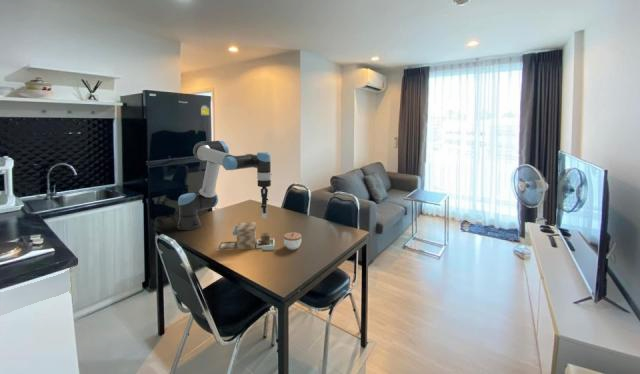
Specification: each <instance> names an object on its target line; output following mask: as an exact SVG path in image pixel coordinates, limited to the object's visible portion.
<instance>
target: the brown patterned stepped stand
mask: <svg viewBox="0 0 640 374" xmlns="http://www.w3.org/2000/svg"><path fill="white" fill-rule="evenodd" d="M256 223H257V222H256V221H252V222H251V221H250V222H238V223H237V225H236V226H237V229H236V231H237V235H236V241H235V240H234V241H233V240H232V241H231V240H230V241H219V242H218V244H217V246H216V249H215V251H230V250H231V251H232V250H250V249H252V250H253V249H254V250H255V249H256V244H257V233H256V232H257V230H256V229H257V228H256V227H257V226H256Z"/></svg>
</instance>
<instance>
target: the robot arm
mask: <svg viewBox="0 0 640 374" xmlns="http://www.w3.org/2000/svg"><path fill="white" fill-rule="evenodd" d="M192 153H193V155H194V157H195V158H196V159H198V160H201V161H206V167H205V171H204V176H203V177H204V178H203V181H202V188H200V189H199V191H198V193H195V192H190V193H189V192H188V193H184V194H181V195H180V196H179V197H178V200H177V204H178V215H179V217H178V222H177V230H180V231H193V230H196V229H199V228H200V227H201V226H202V223H201V220H200V218H199V215H198V211H203V210H207V209H212V208H215V207H216V206H217V205H218V203H219V196H218V194H217V191H216V185H217V180H218V177H219V173H220V168H221V167H220V166H222V167H223V168H224V170H226V171H235V170H241V169H242V170H243V169H248V168H249V169H251V168H253V169H257V171H256V175H257V178H256V179H257V186H258V187H260V194H261V195H260V197H261V205H260V208H261V219H264V220H265V219H268V217H267V216H268V201H269V198H268V194H269V191H268V190H269V188H268V187H271V185H272V183H271V182H272V179H271V176H272V173H271V170H272V169H271V154H270V152H267V151H259V152H257V153H256V154H253V153H245V154H243V155H234V154H230V149H229V146H228V144H227V143H226V142H225V141H223V140H207V141H206V140H205V141H200V142H197V143H196V144H195V145H194V147H193V149H192Z"/></svg>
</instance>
